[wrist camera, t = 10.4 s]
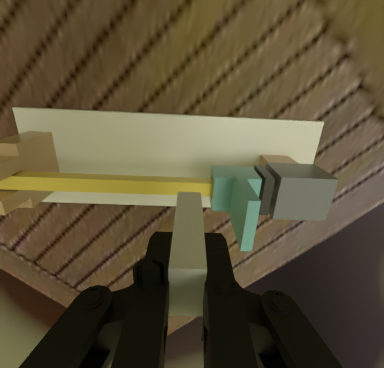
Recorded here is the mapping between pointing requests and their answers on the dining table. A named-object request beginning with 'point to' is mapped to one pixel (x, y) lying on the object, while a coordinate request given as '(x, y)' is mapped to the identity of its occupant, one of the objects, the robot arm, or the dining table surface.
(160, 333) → the robot arm
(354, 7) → the dining table surface
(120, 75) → the dining table surface
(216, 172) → the sleeve
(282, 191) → the cord rig
